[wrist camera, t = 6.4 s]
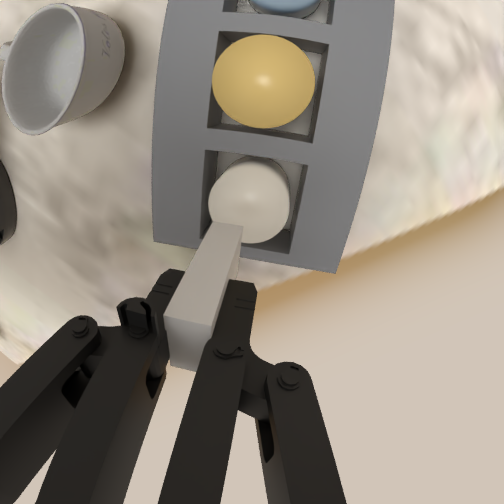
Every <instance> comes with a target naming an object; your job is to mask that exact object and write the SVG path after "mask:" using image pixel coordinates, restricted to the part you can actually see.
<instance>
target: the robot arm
mask: <svg viewBox="0 0 504 504" xmlns="http://www.w3.org/2000/svg"><path fill="white" fill-rule="evenodd" d="M15 226H16V208H15V201H14V196H13V192H12V188H11V184H10V181H9V179H8V176H7V173H6V171H5V169H4V167H3V165H2V163H1V161H0V245H2V244H3V243H4V242H6V241H7V240H8V239H9V238H11V236H12V235H13V233H14V231H15ZM242 233H243V226H239V225H233V224H227V223H220V222H214V221H213V222H212V224H211V226H210V228H209V230H208V231H207V233H206V235H205V237H204V239H203V240H202V242H201V244H200V246H199V248H198V250H197V251H196V253H195V255H194V257H193V259H192V261H191V263H190V264H189V266H188V268H187V270H186V272H185V271H180V270H175V269H169V270H167V271H166V272H164V273H163V274H161V275H160V277H159V279H158V280H157V282H156V284H155V285H154V287H153V288H152V291H151V292H150V293H149V295H148V296H147V298H146V299H144V298H138V297H134V298H129V299H126V300H124V301H122V302H121V303H120V304H119V305H118V306H117V311H118V315H119V319H120V322H121V326H115V327H107V326H98V325H97V322H96V321H95V320H94V319H93V318H92V317H89V316H82V315H80V316H77V317H74V318H72V319H71V320H69V321H68V322H67V323H66V324H65V325H64V326H62V327H61V328H60V329H59V330H58V331H57V332H56V333H55V334H54V335H53V336H52V337H51V338H49V339H48V340H47V341H46V342H45V343H44V344H43V345H42V346H41V347H40V348H39V349H38V350H37V351H36V352H35V353H34V354H33V355H32V356H31V357H30V358H29V359H28V360H27V361H26V362H25V363H24V364H23V365H22V366H21V367H20V368H19V369H18V370H17V371H16V372H15V373H14V374H13V375H12V376H11V377H10V378H9V379H8V380H7V381H6V382H5V383H4V384H3V385H2V386H1V387H0V504H13V503H14V502H15V501H16V500H17V499H18V497H19V496H20V495H21V493H22V492H23V491H24V490H25V488H26V487H27V485H28V484H29V483H30V482H31V480H32V479H33V478H34V476H35V475H36V474H37V473H38V471H39V470H40V469H41V468H42V466H43V465H44V464H45V463H46V461H47V460H48V459H49V458H50V456H51V455H52V454H53V453H54V451H55V450H56V452H55V454H54V457H53V459H52V461H51V464H50V466H49V469H48V471H47V474H46V477H45V479H44V482H43V484H42V487H41V489H40V492H39V495H38V498H37V501H36V503H35V504H123V502H124V499H125V496H126V492H127V489H128V486H129V483H130V479H131V477H132V473H133V470H134V467H135V464H136V461H137V458H138V455H139V452H140V449H141V446H142V443H143V440H144V438H145V435H146V432H147V429H148V426H149V423H150V420H151V417H152V415H153V412H154V409H155V406H156V403H157V401H158V398H159V395H160V393H161V390H162V387H163V384H164V381H165V379H166V365H167V363H168V360H169V359H170V365H171V366H175V367H178V368H182V369H186V370H190V371H195V372H196V375H195V378H194V381H193V385H192V388H191V391H190V394H189V398H188V401H187V404H186V408H185V411H184V414H183V418H182V421H181V424H180V428H179V431H178V434H177V438H176V441H175V445H174V448H173V451H172V455H171V458H170V462H169V465H168V469H167V472H166V476H165V479H164V483H163V487H162V490H161V494H160V497H159V501H158V504H220V502H221V497H222V492H223V487H224V481H225V476H226V471H227V465H228V460H229V455H230V449H231V443H232V439H233V433H234V427H235V422H236V417H237V411H238V410H239V411H241V412H243V413H245V414H247V415H249V416H251V417H254V418H255V423H256V429H257V437H258V443H259V450H260V456H261V463H262V469H263V475H264V481H265V487H266V493H267V499H268V504H347V503H346V500H345V496H344V492H343V488H342V485H341V481H340V477H339V474H338V470H337V466H336V463H335V459H334V456H333V452H332V448H331V445H330V441H329V438H328V435H327V431H326V427H325V424H324V420H323V417H322V413H321V410H320V407H319V403H318V400H317V396H316V393H315V390H314V386H313V383H312V379H311V377H310V375H309V373H308V371H307V370H306V369H305V368H303V367H302V366H301V365H298V364H296V363H294V362H282V363H277V364H276V365H273V364H270V363H268V362H266V361H264V360H262V359H260V358H259V357H258V356H257V355H255V354H254V352H253V351H252V349H251V346H250V334H251V328H252V322H253V316H254V310H255V304H256V297H257V290H256V288H255V286H254V283H249V282H243V281H238V280H236V276H237V273H238V265H239V257H240V249H241V241H242Z"/></svg>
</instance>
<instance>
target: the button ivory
mask: <svg viewBox="0 0 504 504" xmlns="http://www.w3.org/2000/svg"><path fill="white" fill-rule="evenodd" d="M289 197H290V190H289V182H288V178H287V176H286V174H285V173H284V171H283V170H282V168H281V167H280V166H279V165H278V164H276V163H275V162H273V161H272V160H270V159H267V158H265V157H259V156H248V157H244V158H241V159H239V160H237V161H235V162H234V163H232V164H231V165H230V166H229V167H228V169H227V170H226V171H225V172H224V173H223V174H222V176H221V177H220V178H219V179H218V180H217V181H216V183H215V184H214V186H213V187H212V189H211V192H210V195H209V201H208V206H209V212H210V216H211V218H212V220H213V221H214V222H220V223H227V224H233V225H239V226H243V233H242V241H241V242H243V243H260V242H264V241H266V240H269V239H271V238H272V237H274V236H275V235H277V234H278V233H279V232H280V231H281V230H282V228H283V227H284V225H285V224H286V221H287V219H288V215H289Z"/></svg>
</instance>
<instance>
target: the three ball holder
mask: <svg viewBox="0 0 504 504" xmlns="http://www.w3.org/2000/svg"><path fill="white" fill-rule="evenodd" d="M237 3H238V0H168V4H167V9H166V15H165V20H164V26H163V32H162V38H161V45H160V53H159V60H158V69H157V78H156V89H155V101H154V115H153V135H152V218H153V239H154V242H159V243H165V244H170V245H176V246H181V247H187V248H192V249H198V248H199V246H200V244H201V242H202V240H203V239H204V237H205V235H206V233H207V231H208V230H209V228H210V226H211V224H212V222H213V220H212V218H211V216H210V212H209V206H208V201H209V195H210V192H211V189H212V187H213V186H214V184H215V175H216V164H217V153H218V151H223V152H231V153H238V154H246V155H252V156H259V157H265V158H272V159H278V160H283V161H289V162H294V163H300V164H303V168H302V173H301V178H300V183H299V188H298V193H297V198H296V203H295V208H294V213H293V217H292V222H291V227H290V231H287V230H281V231H280V232H279V233H278V234H277V235H275V236H274V237H272V238H271V239H269V240H266V241H264V242H260V243H243V242H241V249H240V257H242V258H248V259H254V260H259V261H265V262H271V263H276V264H282V265H288V266H294V267H299V268H305V269H311V270H317V271H323V272H329V273H334V274H335V273H336V271H337V268H338V265H339V262H340V259H341V256H342V253H343V250H344V247H345V244H346V241H347V238H348V235H349V231H350V228H351V225H352V222H353V218H354V215H355V212H356V208H357V205H358V201H359V198H360V194H361V191H362V187H363V183H364V179H365V176H366V172H367V168H368V164H369V160H370V156H371V152H372V147H373V143H374V139H375V134H376V129H377V125H378V120H379V115H380V110H381V105H382V99H383V94H384V88H385V82H386V76H387V69H388V62H389V55H390V47H391V38H392V28H393V17H394V3H395V0H329V8H328V16H327V24H325V23H320V22H315V21H310V20H305V19H299V18H292V17H285V16H277V15H268V14H256V13H238V12H236V8H237ZM253 35H273V36H278V37H281V38H284V39H286V40H288V41H290V42H292V43H293V44H295V45H296V46H297V47H299V48H300V49H301V50H304V51H310V52H315V53H320V54H322V58H321V65H320V71H319V78H318V84H317V90H316V96H315V102H314V108H313V114H312V119H311V125H310V131H309V136H305V135H299V134H294V133H288V132H283V131H277V130H270V129H264V128H255V127H249V126H242V125H233V124H224V123H221V115H222V108H221V107H220V106H219V104H218V102H217V100H216V98H215V96H214V93H213V88H212V74H213V70H214V67H215V64H216V62H217V60H218V58H219V57H220V55H221V54H222V53H223V52H224V51H225V50H226V49H227V48H228V47H229V46H230V45H231V42H236V41H238V40H240V39H242V38H245V37H249V36H253Z"/></svg>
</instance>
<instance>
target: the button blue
mask: <svg viewBox="0 0 504 504" xmlns="http://www.w3.org/2000/svg"><path fill="white" fill-rule="evenodd" d="M320 1H321V0H249V3H250V4H251V6H252V7H253V8H254V9H255V10H256V11H257V12H259V13H260V14H268V15H277V16H285V17H292V18H299V19H301V18H304V17H306V16H308V15H309V14H311V13H312V12H314V11H315V10H316V8H317V7H318V6H319V4H320Z"/></svg>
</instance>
